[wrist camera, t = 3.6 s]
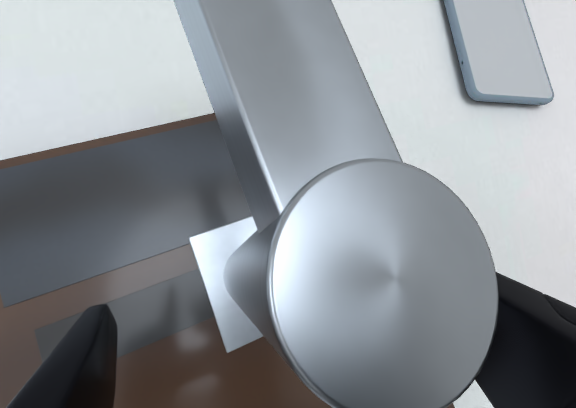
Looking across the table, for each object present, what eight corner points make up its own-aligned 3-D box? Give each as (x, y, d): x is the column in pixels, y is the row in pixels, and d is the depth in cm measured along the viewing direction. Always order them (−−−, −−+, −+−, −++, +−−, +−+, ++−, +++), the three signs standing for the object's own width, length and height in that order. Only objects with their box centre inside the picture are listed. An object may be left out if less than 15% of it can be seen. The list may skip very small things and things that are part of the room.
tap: (308, 306, 16) (631, 417, 4) (225, 345, 14) (300, 722, 2) (237, 117, 17) (299, -259, 5) (155, 136, 16) (-29, -317, 4)
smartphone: (510, -45, 28) (558, 101, 24) (501, -34, 29) (545, 108, 25) (434, -62, 26) (475, 96, 22) (426, -50, 27) (464, 103, 23)
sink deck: (437, 401, 18) (458, 413, 16) (52, 658, 12) (29, 715, 10) (313, 101, 20) (322, 87, 19) (-58, 188, 14) (-90, 178, 13)
